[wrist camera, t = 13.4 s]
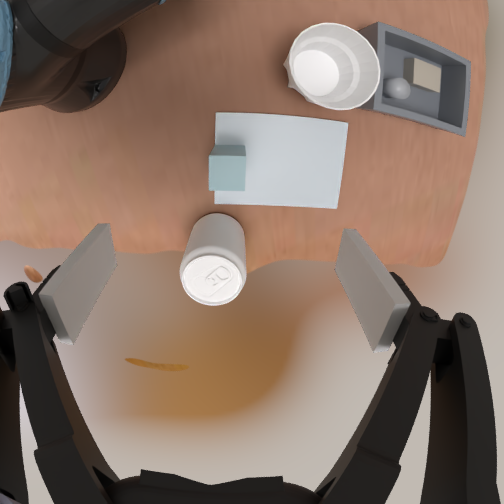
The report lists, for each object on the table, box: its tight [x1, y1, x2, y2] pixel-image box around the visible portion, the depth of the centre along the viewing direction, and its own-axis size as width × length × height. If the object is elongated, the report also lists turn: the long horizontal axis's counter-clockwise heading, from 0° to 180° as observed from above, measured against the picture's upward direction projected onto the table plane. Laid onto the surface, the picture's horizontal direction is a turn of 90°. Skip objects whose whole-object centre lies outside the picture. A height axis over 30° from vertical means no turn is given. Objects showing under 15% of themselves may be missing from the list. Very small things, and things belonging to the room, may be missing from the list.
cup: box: [283, 23, 380, 110], centre depth 28 cm, size 10×10×10 cm
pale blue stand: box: [209, 112, 348, 209], centre depth 35 cm, size 18×13×9 cm
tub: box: [356, 22, 471, 137], centre depth 29 cm, size 16×12×7 cm
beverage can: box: [180, 213, 246, 306], centre depth 38 cm, size 8×8×12 cm
